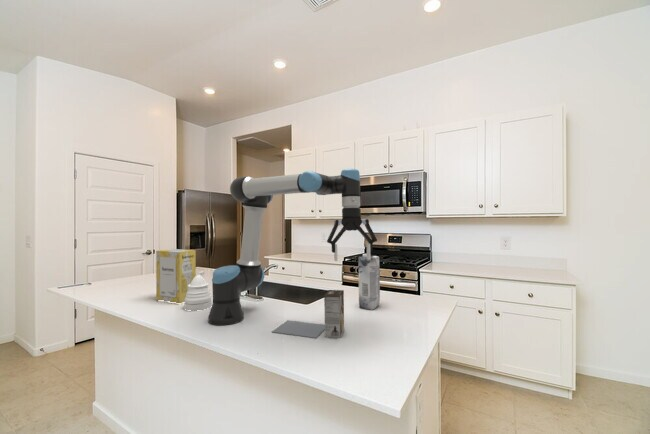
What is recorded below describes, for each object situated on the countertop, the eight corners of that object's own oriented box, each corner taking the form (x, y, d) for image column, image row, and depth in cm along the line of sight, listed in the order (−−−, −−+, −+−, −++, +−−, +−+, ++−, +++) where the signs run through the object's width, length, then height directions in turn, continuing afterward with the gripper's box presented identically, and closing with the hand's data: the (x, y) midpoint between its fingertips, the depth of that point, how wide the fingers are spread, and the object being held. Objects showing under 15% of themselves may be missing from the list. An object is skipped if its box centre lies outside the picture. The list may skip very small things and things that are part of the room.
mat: (271, 332, 118) (271, 331, 118) (287, 321, 131) (287, 320, 131) (316, 338, 111) (316, 337, 111) (328, 325, 124) (328, 325, 124)
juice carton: (381, 305, 153) (381, 253, 153) (373, 311, 144) (372, 255, 144) (365, 303, 158) (365, 252, 158) (356, 308, 149) (356, 254, 149)
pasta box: (156, 301, 165) (156, 250, 165) (172, 296, 175) (172, 249, 175) (179, 304, 158) (179, 252, 158) (195, 299, 168) (195, 250, 168)
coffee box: (328, 328, 121) (328, 289, 121) (344, 329, 120) (344, 290, 120) (324, 337, 112) (324, 295, 112) (341, 338, 111) (340, 295, 111)
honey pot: (202, 302, 161) (202, 269, 162) (216, 306, 154) (216, 271, 154) (179, 308, 151) (179, 273, 151) (193, 313, 143) (193, 275, 144)
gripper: (322, 207, 115) (323, 262, 114) (383, 206, 119) (385, 259, 118) (319, 208, 122) (320, 260, 122) (377, 207, 126) (379, 257, 126)
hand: (352, 260), depth 120 cm, fingers open, 13 cm apart
